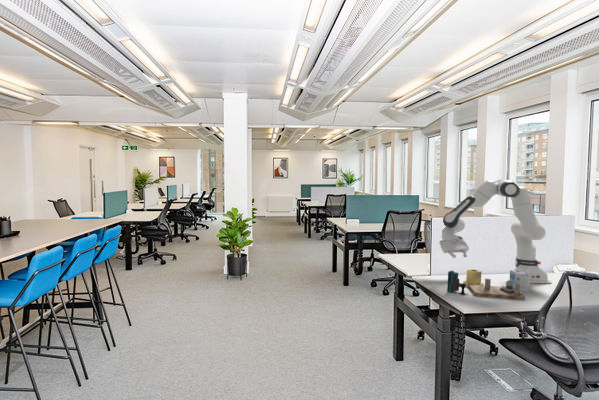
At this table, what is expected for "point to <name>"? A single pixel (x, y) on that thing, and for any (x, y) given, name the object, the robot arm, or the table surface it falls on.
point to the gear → (508, 287)
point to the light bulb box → (520, 279)
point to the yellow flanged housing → (473, 277)
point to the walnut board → (495, 291)
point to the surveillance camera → (454, 283)
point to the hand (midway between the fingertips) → (460, 257)
